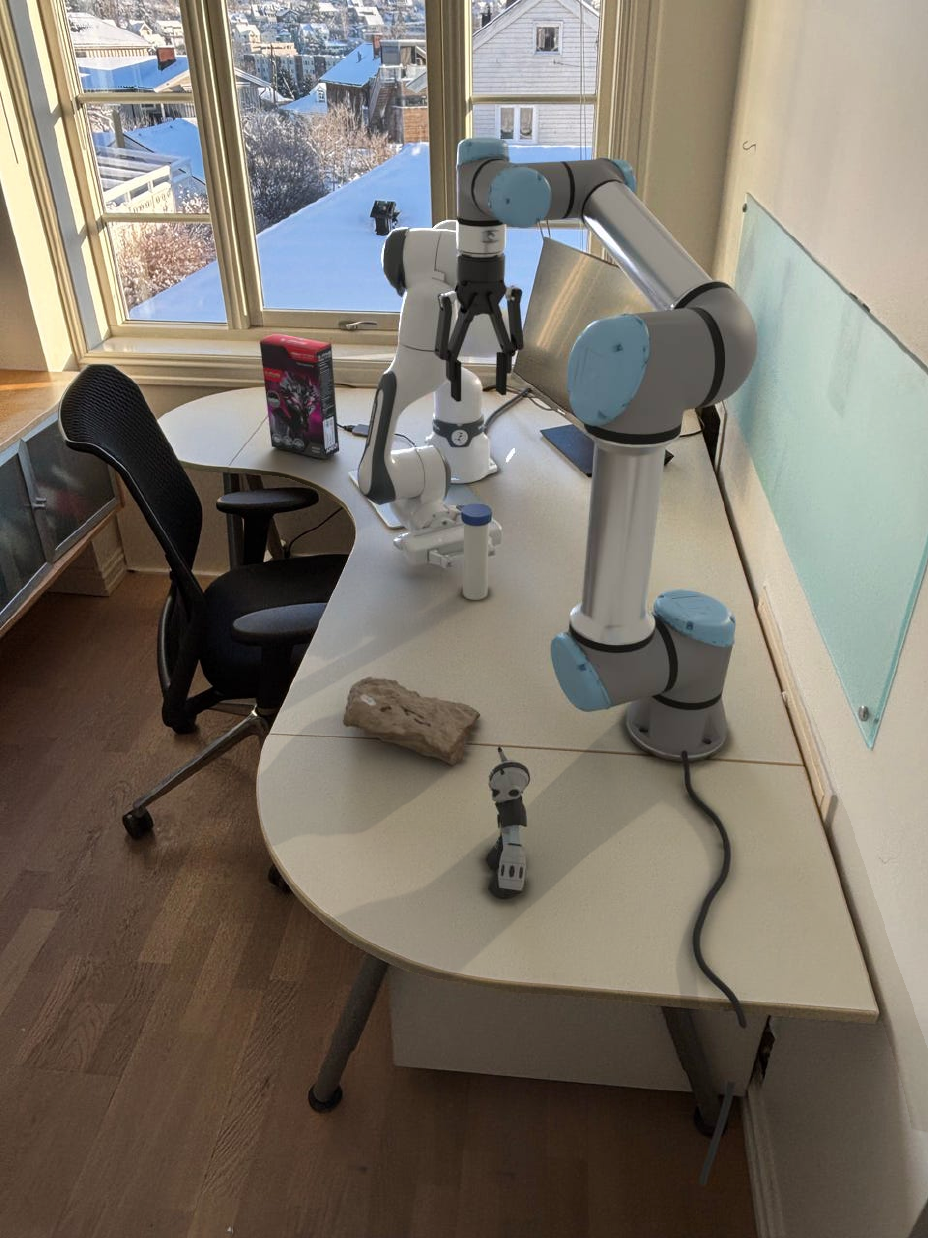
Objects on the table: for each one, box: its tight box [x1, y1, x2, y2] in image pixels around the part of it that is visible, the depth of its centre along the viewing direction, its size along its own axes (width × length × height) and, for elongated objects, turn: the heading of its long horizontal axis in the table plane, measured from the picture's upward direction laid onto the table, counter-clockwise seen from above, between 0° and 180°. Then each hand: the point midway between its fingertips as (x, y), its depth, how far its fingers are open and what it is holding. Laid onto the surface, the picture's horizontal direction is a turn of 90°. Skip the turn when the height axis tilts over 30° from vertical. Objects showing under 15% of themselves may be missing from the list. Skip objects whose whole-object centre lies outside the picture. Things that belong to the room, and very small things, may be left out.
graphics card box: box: [259, 333, 340, 460], centre depth 223 cm, size 17×7×27 cm, turn 62°
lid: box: [461, 502, 493, 526], centre depth 166 cm, size 6×6×2 cm
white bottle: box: [462, 523, 489, 601], centre depth 171 cm, size 5×5×17 cm
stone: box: [342, 676, 481, 766], centre depth 140 cm, size 21×15×6 cm
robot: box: [485, 746, 531, 899], centre depth 114 cm, size 20×5×20 cm, turn 3°
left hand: (470, 558), depth 173 cm, fingers open, 8 cm apart
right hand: (478, 395), depth 154 cm, fingers open, 7 cm apart
